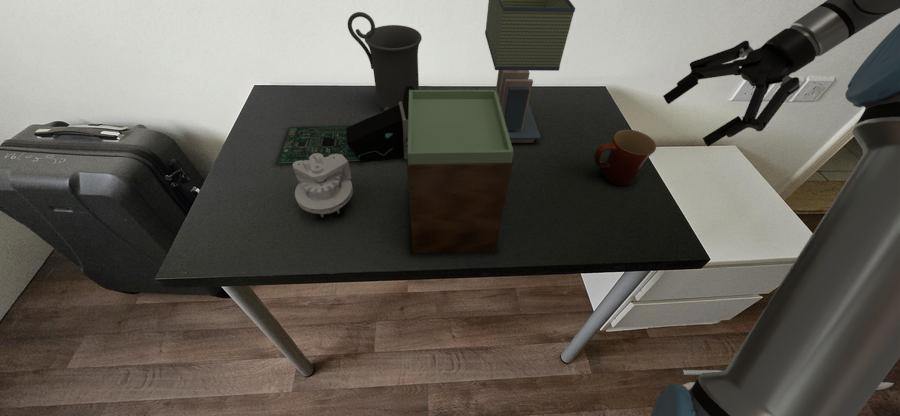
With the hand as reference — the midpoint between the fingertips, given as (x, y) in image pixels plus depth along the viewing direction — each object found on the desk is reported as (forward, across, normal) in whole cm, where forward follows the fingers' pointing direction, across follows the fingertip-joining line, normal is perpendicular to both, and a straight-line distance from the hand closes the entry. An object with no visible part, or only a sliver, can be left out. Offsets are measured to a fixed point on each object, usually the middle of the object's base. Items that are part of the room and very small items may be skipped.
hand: (684, 120), depth 75 cm
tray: (+29, -3, +41) cm, 50 cm away
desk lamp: (+32, +24, +9) cm, 40 cm away
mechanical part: (+62, +4, +44) cm, 76 cm away
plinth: (+45, -5, +26) cm, 52 cm away
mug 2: (+18, 0, -3) cm, 19 cm away
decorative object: (+53, +19, +32) cm, 65 cm away
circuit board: (+63, +24, +43) cm, 80 cm away
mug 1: (+52, +38, +28) cm, 70 cm away
